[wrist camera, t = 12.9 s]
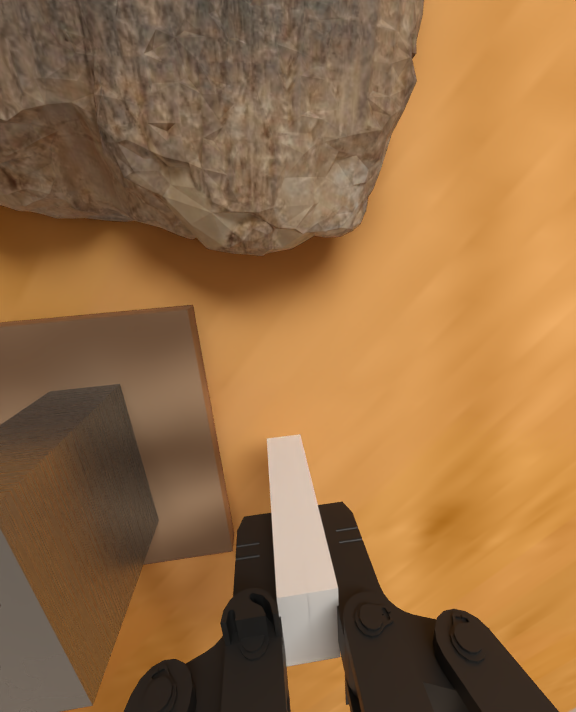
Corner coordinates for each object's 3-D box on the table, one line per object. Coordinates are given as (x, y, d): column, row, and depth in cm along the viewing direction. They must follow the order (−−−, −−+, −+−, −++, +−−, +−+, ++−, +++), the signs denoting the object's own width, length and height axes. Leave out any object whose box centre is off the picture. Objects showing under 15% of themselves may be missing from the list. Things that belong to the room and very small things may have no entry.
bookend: (49, 391, 13) (-154, 529, 7) (119, 383, 13) (-9, 510, 7) (100, 528, 16) (-9, 723, 9) (159, 520, 16) (92, 705, 10)
